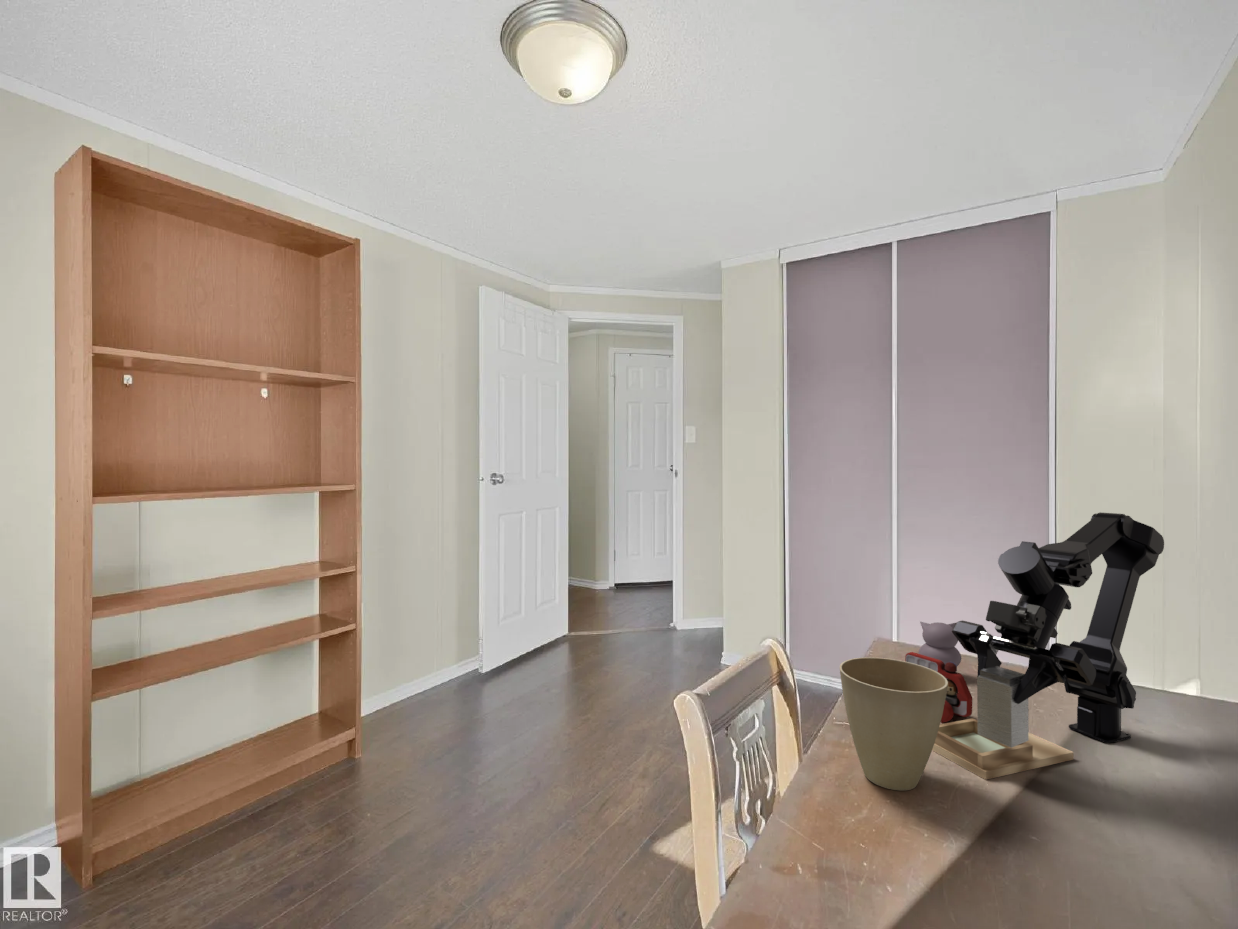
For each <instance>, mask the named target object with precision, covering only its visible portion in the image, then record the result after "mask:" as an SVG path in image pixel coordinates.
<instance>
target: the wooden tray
mask: <svg viewBox="0 0 1238 929" xmlns="http://www.w3.org/2000/svg"><path fill="white" fill-rule="evenodd" d="M932 751H933V752H935V753H936V754H938V755H939V756H941V757H944V758H946V759H947V760H949V761H951V762H953V763H955V764H956V765H958V766H960V767H962V768H963V769H964V770H968V772H971V773H972V774H974V775H976V776H978V777H980V778H982V779H984V780H986V781H987V780H990V779H994V778H999V777H1003V776H1009V775H1013V774H1016V773H1021V772H1025V771H1030V770H1035V769H1038V768H1042V767H1048V766H1051V765H1055V764H1060V763H1065V762H1070V761H1073V760H1074V759H1075V757H1074V753H1075V752H1074V751H1072V750H1070V749H1067V748H1066V747H1063V746H1061V745H1058V744H1056V743H1054V742H1052V741H1049V740H1046V739H1045V738H1042V737H1040V736H1038V735H1036V734H1033V733H1031V732H1029V741H1026V742H1024V743H1021V744H1019V745H1017V746H1014V747H1012V748H1011V747H1009V746H1006V745H1004V744H1001V743H999V742H996V741H994V740H991V739H989V738H986V737H984V736H981V735H979V734H978V719H975V718H973V717H972V718H966V719H963V720H956V721H950V722H944V723H940V726H939V730H938V733H937V736H936V740H935V743H934V746H933V749H932Z"/></svg>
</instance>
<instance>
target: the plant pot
mask: <svg viewBox="0 0 1238 929" xmlns="http://www.w3.org/2000/svg"><path fill="white" fill-rule="evenodd" d="M839 674H840V680H841V682H840V683H841V690H842V696H843V703H844V707H845V712H846V717H847V722H848V726H849V729H850V734H851V737H852V740H853V741H852V742H853V744H854V747H855V751H856V754H857V758H858V760H859V764H860V766H861V769H862V772H863V774H864V776H865V778H866V779H868V780H869V781H870V782H871V783H873V784H875V785H877V786H879V787H882V788H885V789H888V790H894V791H903V792H904V791H910V790H914V788H916V787H917V786H918V783H919V782H920V780H921V777H922V775H923V773H924V771H925V769H926V766H927V765H928V761H929V758H930V756H931V754H932V751H933V750H932V749H933V746H934V743H935V740H936V736H937V733H938V730H939V726H940V724H942V722H941V718H942V714H943V709H944V704H945V699H946V693H947V687H948V681H947V679H946V678H945V677H944V676H943V675H941V674H940V673H938V672H936V671H934V670H932V669H929V668H927V667H924V666H921V665H917V664H914V663H910V662H905V660H900V659H893V658H884V657H875V656H874V657H872V656H871V657H869V656H867V657H865V656H864V657H855V658H850V659H846V660H845V661H842V662H841V663H840V664H839Z"/></svg>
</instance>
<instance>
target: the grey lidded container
mask: <svg viewBox="0 0 1238 929" xmlns="http://www.w3.org/2000/svg"><path fill="white" fill-rule="evenodd" d="M1024 675H1025V673H1022V672H1019V671H1015V670H1011V669H1008V668H1005V667H1002V666H1000V667H998V666H992V667H989V668H985V669H982V670H980V676H978V675H976V681H977V682H976V688H977V689H976V690H977V691H976V692H977V693H976V695H977V696H976V697H977V698H976V699H977V702H976V703H977V720H978V734H979V735H981V736H984V737H986V738H989V739H991V740H994V741H996V742H999V743H1001V744H1004V745H1006V746H1009V747H1011V748H1012V747H1014V746H1017V745H1019V744H1021V743H1024V742H1026V741H1029V733H1030V732H1029V698H1028V699H1026V700H1024V701H1023V702H1021V703H1020V704H1017V703H1015V701H1014V696H1015V693H1016V690H1017V688H1018V686H1019V684H1020V682H1021V680H1022V678H1023V676H1024Z"/></svg>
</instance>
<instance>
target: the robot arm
mask: <svg viewBox="0 0 1238 929" xmlns="http://www.w3.org/2000/svg"><path fill="white" fill-rule="evenodd" d="M1020 542H1021V543H1020V544H1019V545H1017V546H1013V547H1011V548H1009V549H1007V550H1006V551H1004V552H1002V553H1001V554H1000V555H999V557H998V558H997V559H998V560H997V564H998V567H999V568H1000V570H1001V571H1002V573H1003V574H1004V576H1005V577H1006V579H1007V581H1008V582H1009V584H1010V585H1011V587H1012V588H1013V590H1014V591H1015V592H1016V593H1018V594H1019V595H1021V596H1020V598H1019V600H1018V602H1017V603H1016V604H1011V603H1006V602H1002V601H996V600H990V601H989V604H988V608H987V612H986V616H985V621H986V622H991V623H992V624H995V626H994V629H995V631H996V632H997V634H1001V635H1000V637H999V636H998V637H997V636H994V635H993V634H991V633H989V632H988V631H987V630H986V628H985V627H984V625H983V624H979V623H976V622H971V621H966V620H963V619H962V620H959V621H957V623H956V622H955V623H956V624H955V626H954V628H953V630H952V633H953V634H954V635H955V637H956V638H957V640H958V642H959V643H960V645H961V647H962V648H963V649H964V650H965V651H967V652H968V653H971V654H975V655H977V657H976V658H977V676H980V670H982V669H985V668H989V667H992V666H998V667H1001V666H1002V661H1001V660H1000V659H999V657H998V656H997V654H998V653H999V651H1001V652H1005V653H1009V654H1011V655H1016V656H1019V657H1024V658H1027V659H1028V665H1027V669H1026V671H1025V672H1024V674H1025V675H1024V676H1023V678H1022V680H1021V682H1020V684H1019V686H1018V688H1017V690H1016V693H1015V696H1014V701H1015V703H1017V704H1020V703H1021V702H1023V701H1024V700H1026V699H1028V700H1029V698H1031V697H1032V696H1034V695H1036V694H1037V693H1039V692H1040V691H1042V690H1044V689H1047V688H1048V687H1051V686H1052V685H1054V684H1057V683H1061V684H1064V689H1065V692H1066V693H1067V694H1072V695H1075V696H1077V707H1076V722H1075V723H1071V724H1068V728H1069V729H1071V730H1073V731H1075V732H1079V733H1081V734H1082V735H1085V736H1087V737H1090V738H1093V739H1095V740H1098V741H1101V742H1103V743H1104V744H1105V743H1106V744H1110V743H1115V742H1121V741H1123V740H1129V739H1131V738H1132V734H1130V733H1128V732H1124V731H1122V710H1124V709H1134V708H1135V702H1136V700H1137V697H1136V696H1137V691H1136V689H1135V688H1134V686H1133V684H1132V682H1131V680H1130V679H1129V677H1128V675H1127V672H1128V667H1127V665H1126V663H1125V660H1124V657H1123V656H1122V653H1121V651H1120V650H1121V646H1122V642H1123V639H1124V635H1125V632H1126V629H1127V628H1126V627H1127V625H1128V620H1129V617H1130V613H1131V610H1132V606H1133V603H1134V598H1135V594H1136V591H1137V588H1138V583H1139V580H1140V578H1141V576H1143V575H1144V574H1145V573H1146V572H1149V571H1150V570H1151V569H1152V568H1154V567H1155V566H1156V564H1157V561H1158V559H1159V557H1160V556H1159V555H1160V554H1162V553H1163V551H1164V549H1165V548H1164V547H1165V540H1164V536H1163V535H1162V534H1161V533H1160V532H1159V531H1157V529H1155V528H1154V527H1153V526H1150V525H1148V524H1145V523H1142V522H1140V521H1138V520H1134V519H1133V517H1132V516H1130V515H1126V514H1125V513H1114V512H1113V513H1112V512H1101V511H1100V512H1097V513H1094V514H1092V516H1091V518H1090V521H1088V522H1087V523H1086V524H1084V525H1083V526H1082V527H1080V528H1079V529H1078V530H1077V531H1075V532H1074V533H1073V534H1072V535H1070V536H1069V537H1068V538H1066V539H1065V540H1063V541H1061V542H1055V543H1047V544H1045V545H1042V546H1041V547H1039V546H1038V545H1037V543H1036V542H1031V541H1025V540H1024V541H1020ZM1101 555H1102V557H1103V559H1104V562H1105V564H1106V568H1105V572H1104V576H1103V578H1102V582H1101V586H1100V590H1099V593H1098V596H1097V599H1096V603H1095V607H1094V609H1093V613H1092V616H1091V620H1090V623H1089V626H1088V631H1087V634H1086V636H1085V637H1084V638H1083V639H1081V640H1080V641H1075V640H1073V641H1071V643H1070V644H1069V645H1068V644H1064V643H1063V644H1062V643H1060V642H1055V643H1052V644H1051V645H1050V647H1049V649H1048V648H1047V646H1048V643H1049V641H1050V639H1051V638H1052V639H1057V636H1058V635H1059V634H1058V633H1059V632H1058V631H1057V629H1056V627H1057V625H1058V622H1059V620H1060V617H1061V616H1062V613H1063V611H1064V610H1069V611H1070V610H1071V609H1072V602H1071V600H1070V597H1069V594H1068V593H1067V592H1066V589H1065V586H1066V587H1072V588H1081V587H1082V586H1084V585H1085V584H1086V582H1088V581H1089V580H1090V577H1091V576H1092V575H1093V569H1092V564H1093V562H1095V560H1096V559H1098V558H1099V557H1100V556H1101ZM1063 586H1064V587H1063ZM1046 648H1047V649H1046Z"/></svg>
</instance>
